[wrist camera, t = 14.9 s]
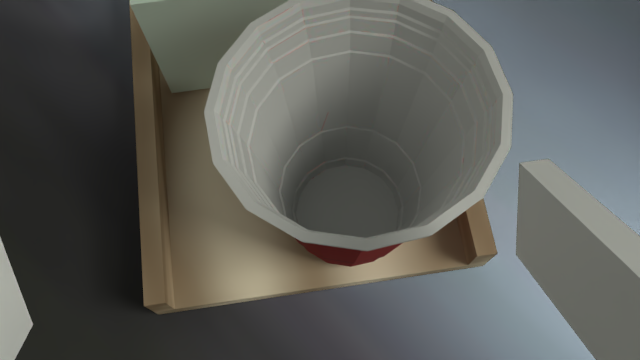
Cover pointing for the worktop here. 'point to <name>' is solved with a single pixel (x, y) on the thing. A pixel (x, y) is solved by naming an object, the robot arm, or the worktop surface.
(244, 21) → the pusher
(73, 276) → the worktop surface
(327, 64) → the plastic cup
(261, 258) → the wooden tray
